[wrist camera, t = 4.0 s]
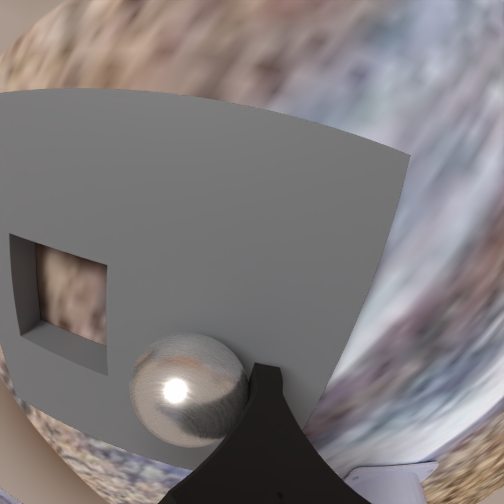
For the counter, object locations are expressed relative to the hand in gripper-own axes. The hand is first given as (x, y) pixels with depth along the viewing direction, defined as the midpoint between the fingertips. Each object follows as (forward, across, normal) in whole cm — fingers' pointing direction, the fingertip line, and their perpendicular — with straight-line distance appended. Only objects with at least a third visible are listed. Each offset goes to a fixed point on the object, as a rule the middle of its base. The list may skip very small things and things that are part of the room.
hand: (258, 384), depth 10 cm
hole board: (+3, +6, 0) cm, 6 cm away
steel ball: (-1, +2, 0) cm, 3 cm away
